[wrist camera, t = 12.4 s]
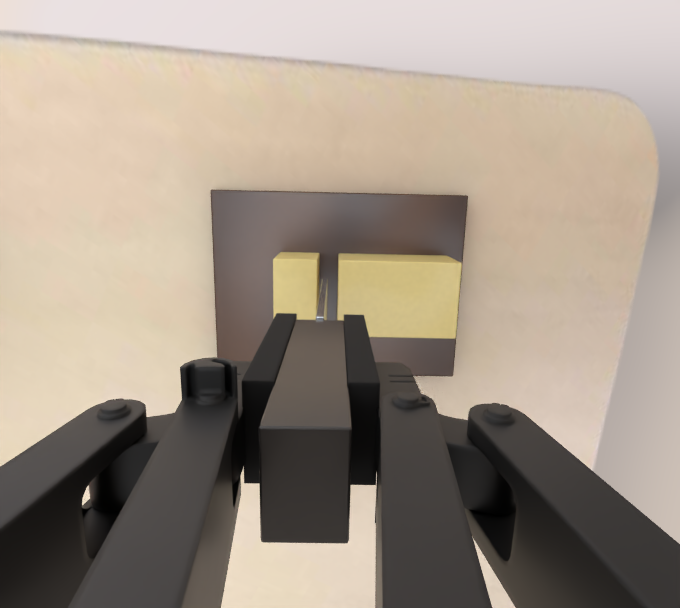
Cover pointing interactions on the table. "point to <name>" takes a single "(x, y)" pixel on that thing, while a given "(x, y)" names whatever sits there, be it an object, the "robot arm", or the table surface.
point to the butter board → (324, 257)
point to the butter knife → (308, 437)
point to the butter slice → (296, 284)
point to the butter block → (400, 293)
